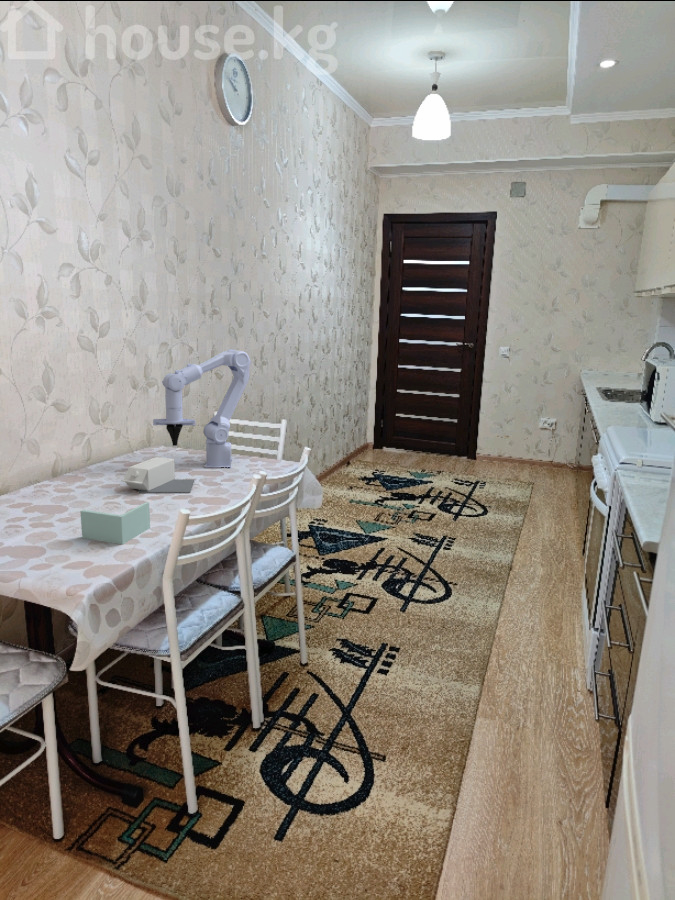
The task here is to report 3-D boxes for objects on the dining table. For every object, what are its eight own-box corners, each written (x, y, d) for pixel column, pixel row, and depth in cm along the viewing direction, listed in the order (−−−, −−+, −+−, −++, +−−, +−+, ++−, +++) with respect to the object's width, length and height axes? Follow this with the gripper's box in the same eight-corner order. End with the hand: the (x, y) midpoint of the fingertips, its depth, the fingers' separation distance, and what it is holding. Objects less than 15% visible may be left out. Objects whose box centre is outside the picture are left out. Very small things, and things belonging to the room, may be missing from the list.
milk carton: (175, 479, 203) (140, 494, 185) (157, 476, 205) (121, 491, 187) (174, 459, 201) (140, 472, 183) (156, 456, 203) (120, 469, 186)
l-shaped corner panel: (150, 529, 160) (149, 502, 158) (122, 545, 148) (121, 516, 147) (111, 523, 163) (110, 497, 161) (82, 538, 152) (80, 510, 150)
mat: (194, 480, 203) (194, 479, 203) (190, 493, 190) (190, 491, 190) (146, 480, 201) (146, 479, 201) (138, 493, 188) (138, 492, 187)
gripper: (196, 406, 214) (196, 442, 217) (154, 405, 212) (155, 442, 215) (194, 409, 207) (195, 447, 210) (151, 408, 205) (152, 446, 208)
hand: (175, 445), depth 212 cm, fingers closed
